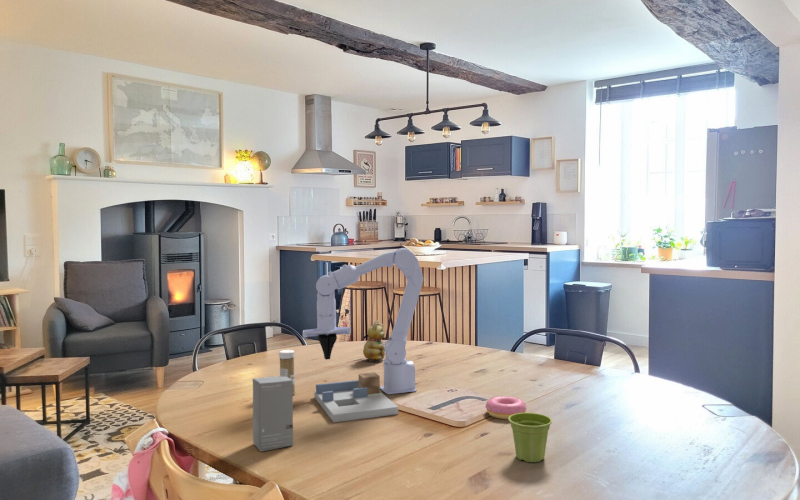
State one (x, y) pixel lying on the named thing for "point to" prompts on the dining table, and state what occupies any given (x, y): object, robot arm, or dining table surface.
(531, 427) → the plant pot
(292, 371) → the sprinkles bottle
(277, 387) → the skincare box
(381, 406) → the deck
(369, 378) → the walnut block
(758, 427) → the dining table surface
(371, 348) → the decorative figurine
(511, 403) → the doughnut
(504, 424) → the dining table surface
